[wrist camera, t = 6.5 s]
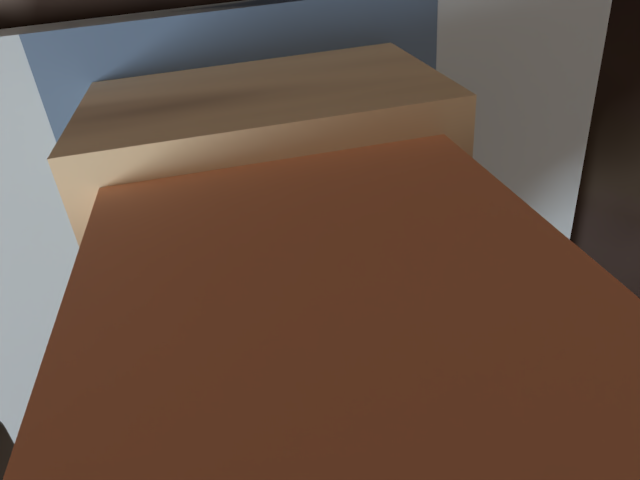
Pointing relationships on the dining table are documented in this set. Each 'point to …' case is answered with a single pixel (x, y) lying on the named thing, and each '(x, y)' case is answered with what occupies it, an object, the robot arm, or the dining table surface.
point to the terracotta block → (334, 332)
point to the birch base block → (251, 117)
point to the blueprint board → (265, 43)
